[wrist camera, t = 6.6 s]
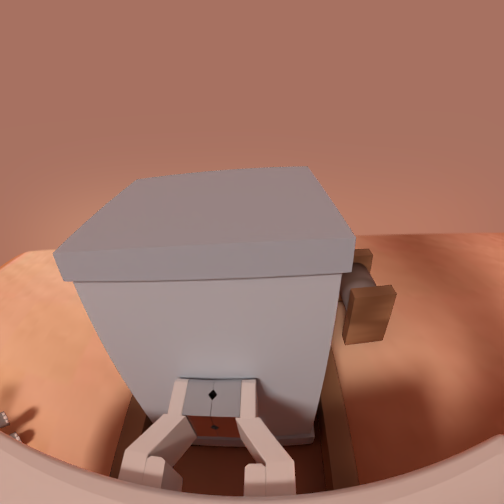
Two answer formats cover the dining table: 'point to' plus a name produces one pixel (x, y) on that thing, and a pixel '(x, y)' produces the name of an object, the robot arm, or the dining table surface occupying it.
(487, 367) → the dining table surface
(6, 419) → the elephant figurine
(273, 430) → the gray rectangular block
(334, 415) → the bay
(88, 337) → the dining table surface
